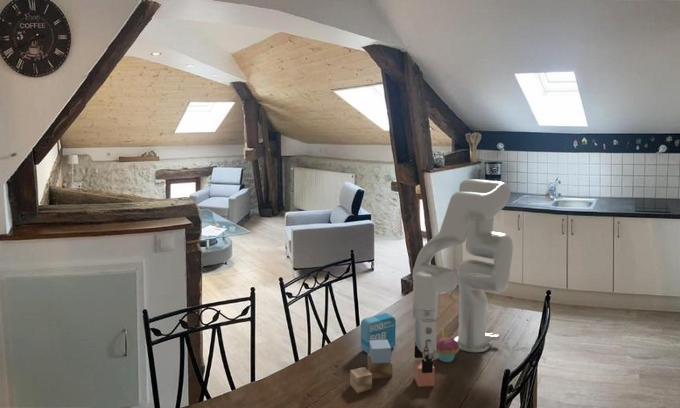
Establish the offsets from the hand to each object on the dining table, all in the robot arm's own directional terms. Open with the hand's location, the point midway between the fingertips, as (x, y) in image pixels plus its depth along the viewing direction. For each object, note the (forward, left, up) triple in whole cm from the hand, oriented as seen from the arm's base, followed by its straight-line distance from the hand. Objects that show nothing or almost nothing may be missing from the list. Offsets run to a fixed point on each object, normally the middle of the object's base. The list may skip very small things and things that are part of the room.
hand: (423, 364), depth 154 cm
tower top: (+12, -8, -1) cm, 15 cm away
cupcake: (-12, -15, -6) cm, 20 cm away
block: (+19, 0, -6) cm, 20 cm away
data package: (+10, -24, -6) cm, 27 cm away
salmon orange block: (-1, -1, -6) cm, 6 cm away
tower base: (+12, -8, -6) cm, 16 cm away
